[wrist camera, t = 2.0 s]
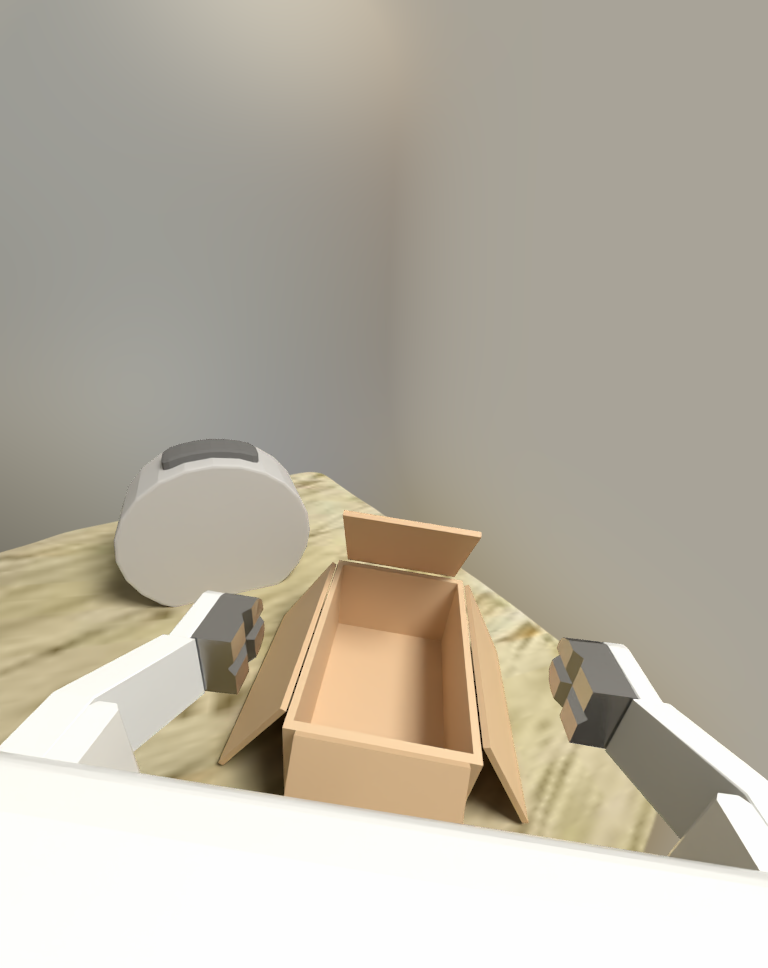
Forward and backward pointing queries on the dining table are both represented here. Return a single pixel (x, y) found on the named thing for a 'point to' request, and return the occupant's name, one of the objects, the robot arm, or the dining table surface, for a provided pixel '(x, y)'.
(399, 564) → the flap
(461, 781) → the carton
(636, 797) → the dining table surface
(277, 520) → the alarm clock
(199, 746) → the dining table surface
